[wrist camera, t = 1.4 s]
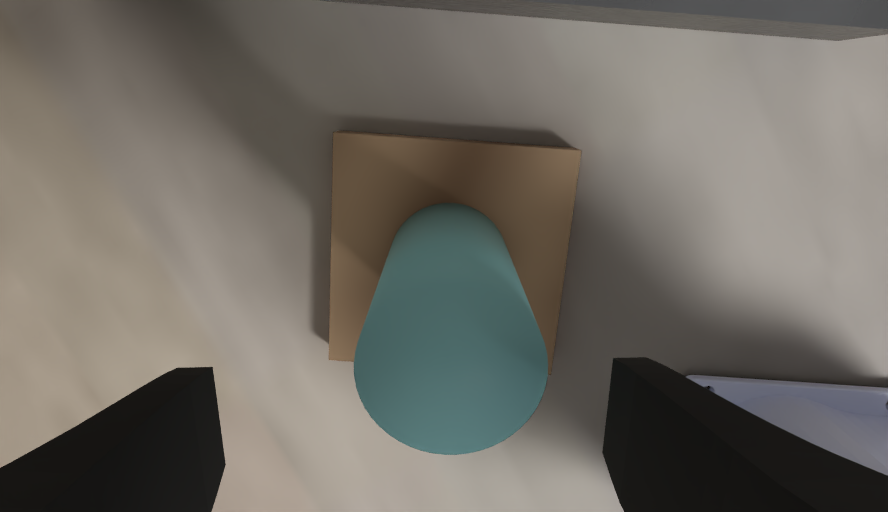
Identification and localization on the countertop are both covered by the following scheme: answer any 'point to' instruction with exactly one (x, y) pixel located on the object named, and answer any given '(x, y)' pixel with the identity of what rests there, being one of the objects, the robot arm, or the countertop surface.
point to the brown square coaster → (446, 181)
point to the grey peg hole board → (693, 14)
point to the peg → (450, 337)
